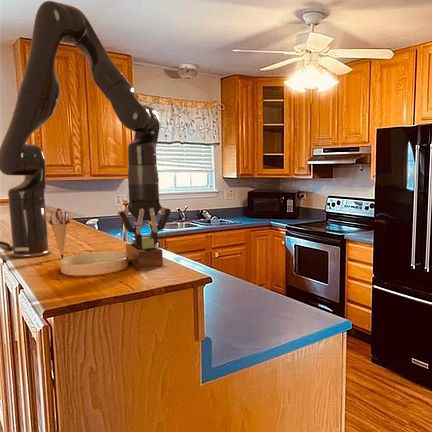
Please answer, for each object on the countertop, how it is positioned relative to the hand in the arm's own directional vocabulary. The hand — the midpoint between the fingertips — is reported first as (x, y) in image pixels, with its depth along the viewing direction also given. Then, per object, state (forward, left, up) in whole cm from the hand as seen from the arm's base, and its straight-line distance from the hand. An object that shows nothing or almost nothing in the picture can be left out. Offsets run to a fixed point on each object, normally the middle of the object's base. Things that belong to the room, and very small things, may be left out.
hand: (146, 246), depth 113 cm
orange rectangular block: (-6, 0, -5) cm, 8 cm away
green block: (0, 0, 0) cm, 0 cm away
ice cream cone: (-22, -18, -6) cm, 29 cm away
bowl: (-5, -12, -5) cm, 14 cm away
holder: (-3, 0, -5) cm, 6 cm away
